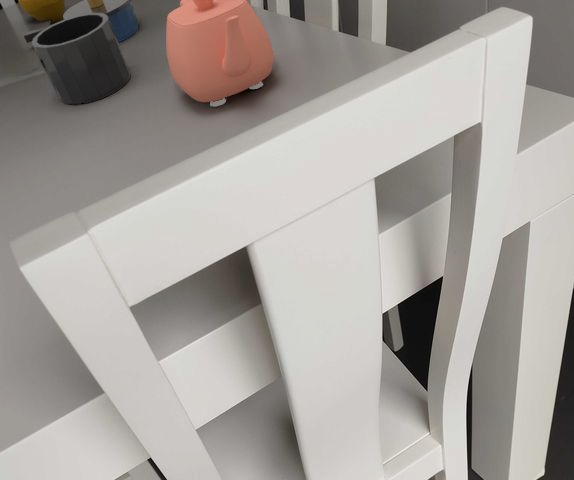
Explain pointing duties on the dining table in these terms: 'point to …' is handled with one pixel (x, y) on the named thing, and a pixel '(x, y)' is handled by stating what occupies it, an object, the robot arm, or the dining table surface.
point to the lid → (96, 7)
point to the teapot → (217, 48)
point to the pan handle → (33, 34)
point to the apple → (44, 9)
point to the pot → (82, 58)
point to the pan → (124, 23)
